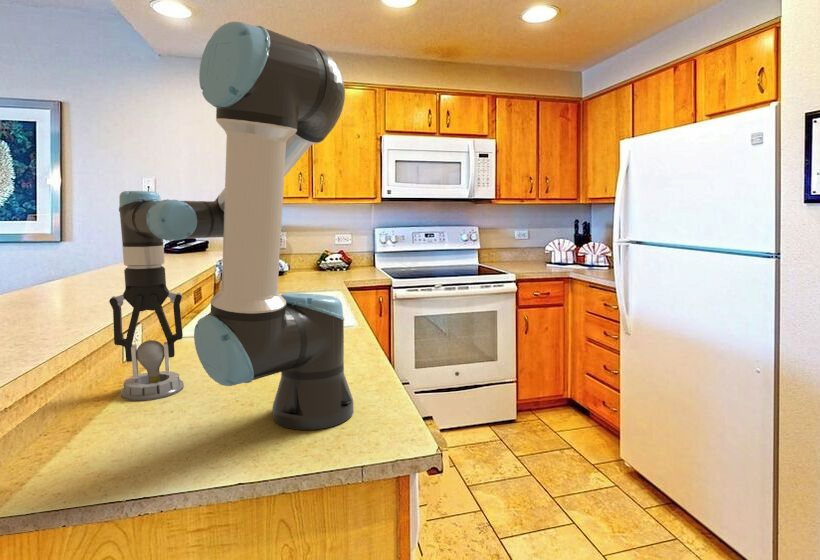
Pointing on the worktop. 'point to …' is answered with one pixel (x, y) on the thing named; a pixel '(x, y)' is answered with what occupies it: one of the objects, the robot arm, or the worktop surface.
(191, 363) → the worktop surface
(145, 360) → the light bulb
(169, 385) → the socket
